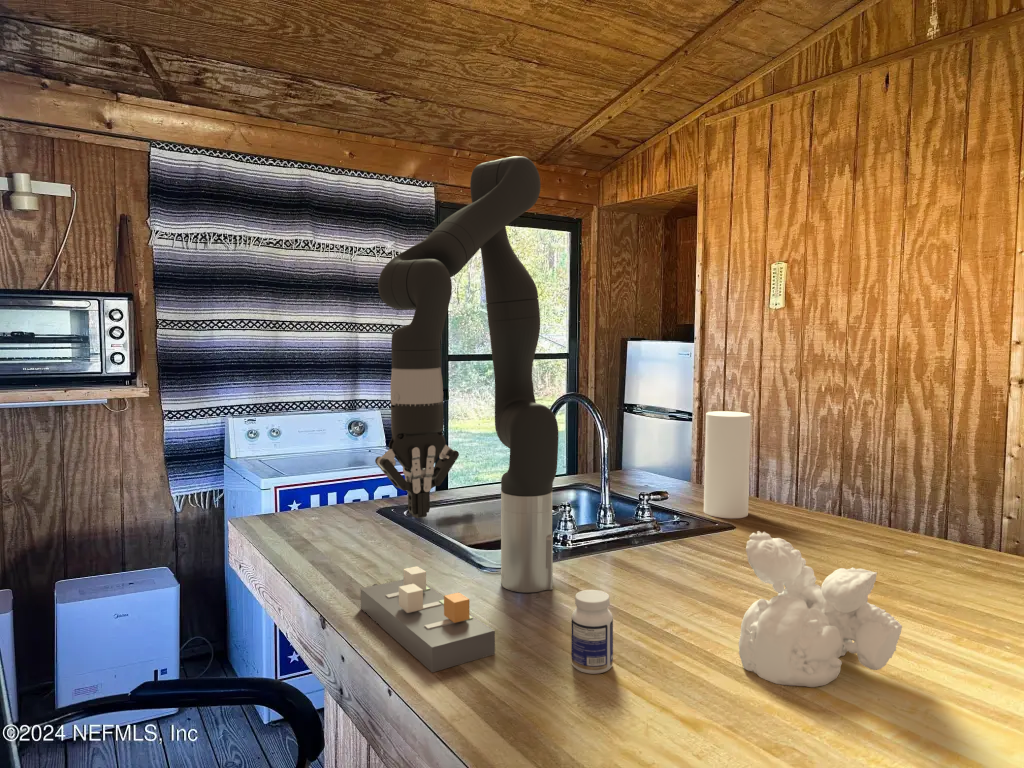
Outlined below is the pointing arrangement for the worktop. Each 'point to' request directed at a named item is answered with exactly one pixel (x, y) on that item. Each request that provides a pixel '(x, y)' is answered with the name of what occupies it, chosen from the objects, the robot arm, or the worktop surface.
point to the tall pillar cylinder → (727, 464)
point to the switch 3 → (456, 607)
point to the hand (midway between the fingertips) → (419, 516)
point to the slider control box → (428, 627)
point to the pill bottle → (592, 632)
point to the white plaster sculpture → (810, 619)
